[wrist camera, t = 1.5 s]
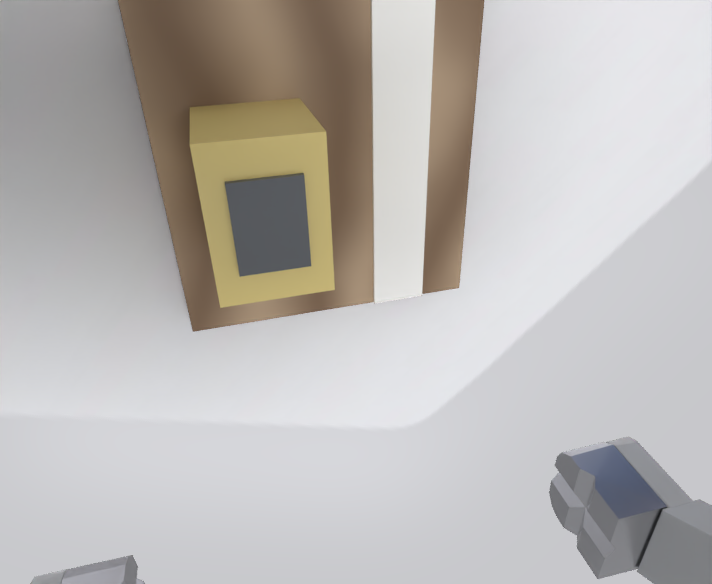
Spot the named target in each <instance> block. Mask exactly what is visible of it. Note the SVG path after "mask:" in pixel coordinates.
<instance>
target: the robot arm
mask: <svg viewBox="0 0 712 584" xmlns="http://www.w3.org/2000/svg"><path fill="white" fill-rule="evenodd" d="M555 466H556V468H557V469H558V471H559V473H558V474H557V475H556V476H555V477H554V478H553V480H552V481H551V486H550V491H549V493H550V498H551V504H552V507H553V509H554V512H555V514H556V516H557V518H558V519H559V521H560V522H561V524H562V526H563V527H564V528H565V529H567V530H569V531H570V532H572V533H574V534H575V535H577V549H578V550H579V552H580V553H581V555H582V556H583V558H584V559H585V561H586V562H587V564H588V565H589V567H590V568H591V570H592V571H593V573H594V574H595V576H596V577H597V579H600V578H604V577H608V576H612V575H616V574H619V573H623V572H627V571H631V570H635V569H638V570H637V572H638V573H640V574H641V575H643V576H644V577H645V578H647V579H648V580H649V581H651V582H652V583H654V584H712V505H710V504H708V503H706V502H704V501H702V500H695V501H693V500H692V499H691V498H690V497H689V496H688V495H687V494H686V493H685V492H684V491H683V490H682V489H681V488H680V487H679V485H677V483H676V482H675V481H674V480H673V479H672V478H671V477H670V476H669V475H668V474H667V473H666V472H665V470H663V469H662V467H661V466H660V465H659V464H658V463H657V462H656V461H655V460H654V459H653V458H652V457H651V456H650V454H648V452H647V451H646V450H645V449H644V448H643V447H642V446H641V445H640V444H639V443H638V442H637V441H636V440H634V439H632V438H631V437H625V438H620V439H616V440H613V441H609V442H601V443H598V444H593V445H589V446H585V447H582V448H578V449H574V450H570V451H566V452H562V453H561V454H560V455H559V456H558V457H557V460H556V464H555ZM137 568H138V566H137V564H136V562H135V560H134V558H133V555H130V556H126V557H121V558H117V559H112V560H108V561H103V562H98V563H94V564H90V565H85V566H80V567H76V568H71V569H66V570H61V571H57V572H53V573H48V574H44V575H40V576H36V577H34V579H33V580H32V582H31V584H145V583H144V581H142V580H140V579H137Z"/></svg>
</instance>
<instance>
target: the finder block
mask: <svg viewBox="0 0 712 584" xmlns="http://www.w3.org/2000/svg"><path fill="white" fill-rule="evenodd" d="M190 149H191V155H192V160H193V165H194V171H195V176H196V181H197V186H198V192H199V197H200V202H201V208H202V213H203V218H204V224H205V229H206V234H207V240H208V245H209V250H210V256H211V261H212V266H213V271H214V277H215V282H216V287H217V293H218V298H219V303H220V308H223V307H229V306H235V305H242V304H248V303H254V302H261V301H267V300H274V299H280V298H286V297H293V296H299V295H305V294H312V293H318V292H324V291H331V290H335V284H334V265H333V246H332V228H331V209H330V191H329V172H328V154H327V135H326V130H325V129H324V128H323V127H322V125H321V124H320V123H319V122H318V120H317V119H316V118H315V117H314V115H313V114H312V113H311V112H310V110H309V109H308V108H307V107H306V106H305V104H304V103H303V102H302V101H301V99H300V98H296V99H284V100H272V101H260V102H248V103H236V104H224V105H212V106H200V107H190Z"/></svg>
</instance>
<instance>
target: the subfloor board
mask: <svg viewBox="0 0 712 584" xmlns="http://www.w3.org/2000/svg"><path fill="white" fill-rule="evenodd" d="M118 3H119V7H120V11H121V16H122V20H123V25H124V29H125V33H126V38H127V42H128V47H129V51H130V56H131V60H132V64H133V69H134V73H135V78H136V82H137V86H138V91H139V95H140V100H141V104H142V109H143V113H144V117H145V122H146V126H147V131H148V135H149V139H150V144H151V148H152V153H153V157H154V162H155V166H156V170H157V175H158V179H159V184H160V188H161V192H162V197H163V201H164V206H165V210H166V215H167V219H168V223H169V228H170V232H171V237H172V241H173V245H174V250H175V254H176V259H177V263H178V268H179V272H180V276H181V281H182V285H183V290H184V294H185V298H186V303H187V307H188V312H189V316H190V321H191V325H192V329H193V331H200V330H206V329H212V328H218V327H224V326H230V325H236V324H242V323H248V322H254V321H260V320H266V319H273V318H279V317H285V316H291V315H297V314H303V313H309V312H315V311H321V310H327V309H333V308H340V307H346V306H352V305H358V304H364V303H370V302H374V304H375V303H381V302H388V301H394V300H400V299H406V298H412V297H418V296H422V294H425V293H431V292H437V291H443V290H449V289H455V288H459V283H460V272H461V260H462V249H463V237H464V226H465V214H466V203H467V192H468V180H469V169H470V157H471V146H472V135H473V123H474V112H475V100H476V89H477V77H478V66H479V55H480V43H481V32H482V20H483V9H484V0H118ZM296 98H300V99H301V101H302V102H303V103H304V104H305V106H306V107H307V108H308V109H309V110H310V112H311V113H312V114H313V115H314V117H315V118H316V119H317V120H318V122H319V123H320V124H321V125H322V127H323V128H324V129H325V130H326V135H327V154H328V172H329V191H330V209H331V228H332V246H333V265H334V284H335V290H331V291H324V292H318V293H312V294H305V295H299V296H293V297H286V298H280V299H274V300H267V301H261V302H254V303H248V304H242V305H235V306H229V307H223V308H220V303H219V298H218V293H217V287H216V282H215V277H214V271H213V266H212V261H211V256H210V250H209V245H208V240H207V234H206V229H205V224H204V218H203V213H202V208H201V202H200V197H199V192H198V186H197V181H196V176H195V171H194V165H193V160H192V155H191V149H190V107H200V106H212V105H224V104H236V103H248V102H260V101H272V100H284V99H296Z"/></svg>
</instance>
